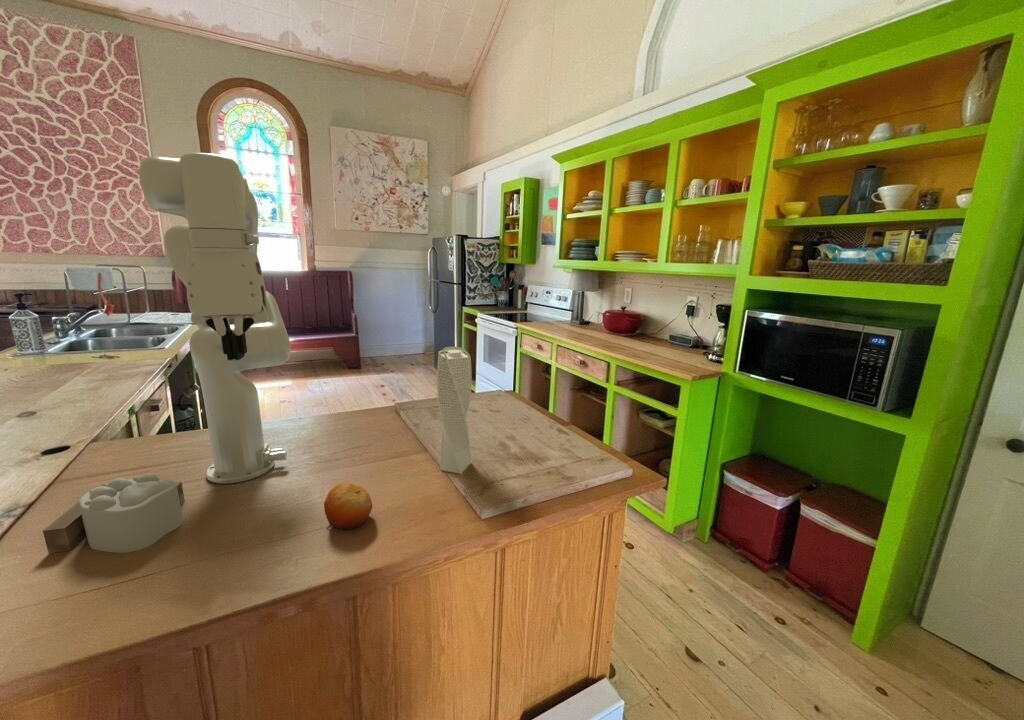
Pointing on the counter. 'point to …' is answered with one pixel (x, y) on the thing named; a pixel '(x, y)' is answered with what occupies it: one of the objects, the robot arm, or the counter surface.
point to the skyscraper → (454, 407)
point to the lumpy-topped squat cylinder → (130, 513)
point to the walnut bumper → (74, 528)
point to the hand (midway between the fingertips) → (236, 358)
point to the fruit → (347, 506)
